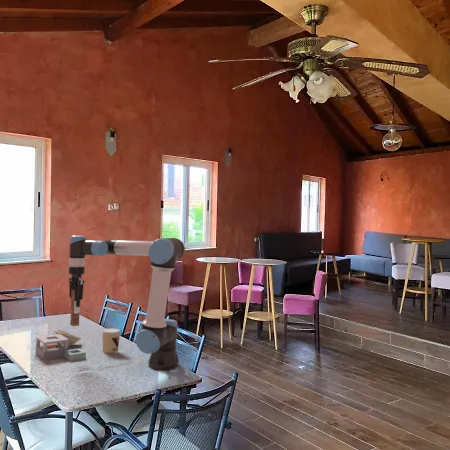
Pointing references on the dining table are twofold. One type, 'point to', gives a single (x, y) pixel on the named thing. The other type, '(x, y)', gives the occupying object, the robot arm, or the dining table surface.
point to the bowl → (68, 337)
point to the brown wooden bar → (74, 317)
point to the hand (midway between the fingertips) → (75, 312)
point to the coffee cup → (111, 340)
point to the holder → (74, 354)
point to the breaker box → (53, 352)
